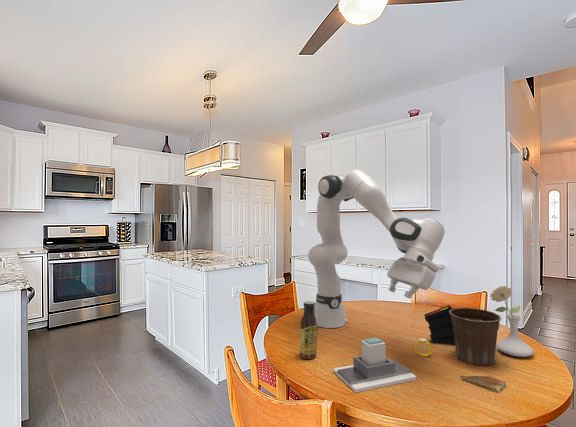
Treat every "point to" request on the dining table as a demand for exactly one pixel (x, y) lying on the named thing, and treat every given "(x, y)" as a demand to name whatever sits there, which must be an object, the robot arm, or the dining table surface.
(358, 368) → the rail holder
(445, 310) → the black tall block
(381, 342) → the module block
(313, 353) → the sauce bottle
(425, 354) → the watch
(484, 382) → the shard
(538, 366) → the dining table surface
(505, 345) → the flower in vase
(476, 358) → the plant pot
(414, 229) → the robot arm
